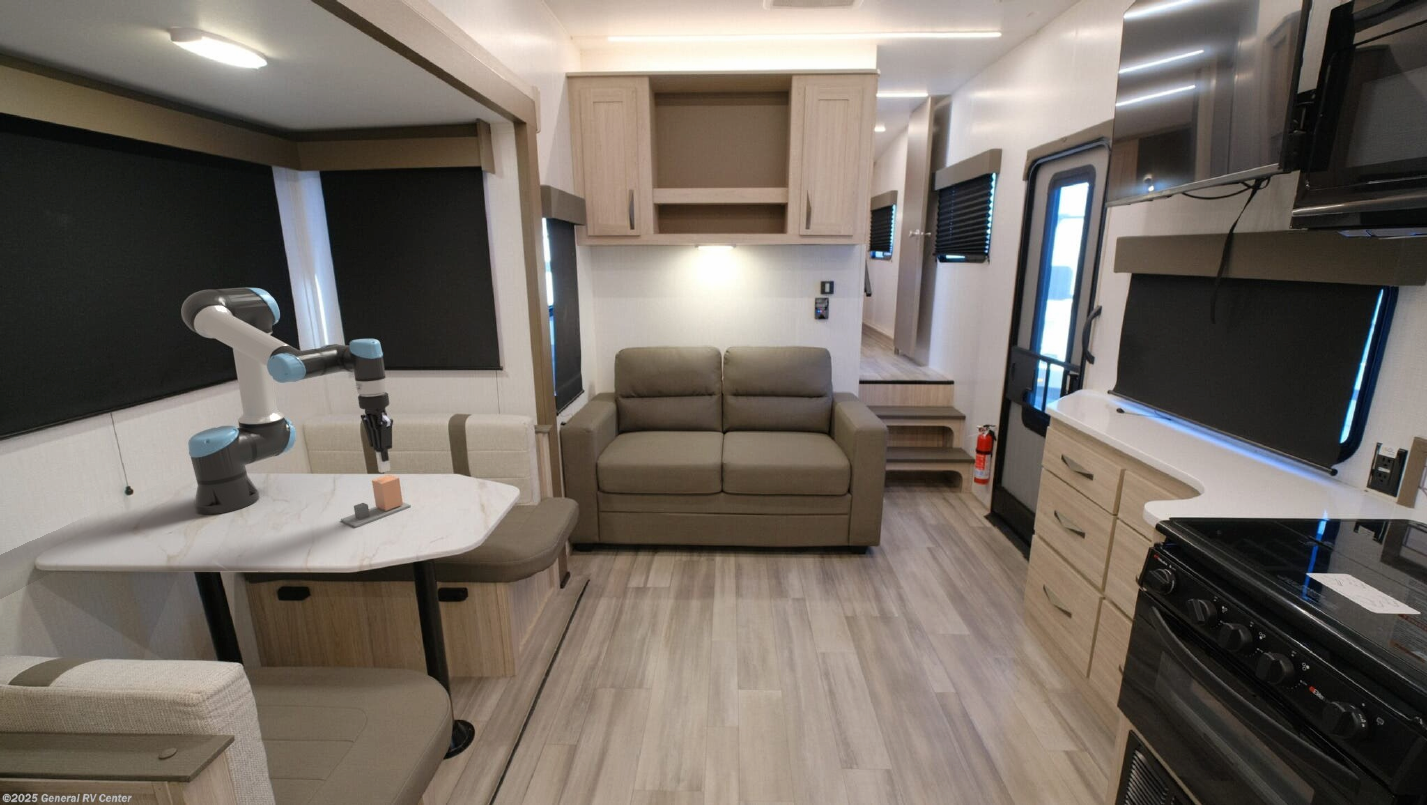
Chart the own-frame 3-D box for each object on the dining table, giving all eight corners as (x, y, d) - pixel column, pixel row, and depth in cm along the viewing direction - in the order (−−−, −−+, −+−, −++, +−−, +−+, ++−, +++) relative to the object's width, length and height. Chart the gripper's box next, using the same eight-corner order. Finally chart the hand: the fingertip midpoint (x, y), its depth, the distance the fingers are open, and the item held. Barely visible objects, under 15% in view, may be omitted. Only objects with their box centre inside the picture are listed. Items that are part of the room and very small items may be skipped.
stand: (341, 520, 164) (336, 491, 161) (395, 501, 177) (391, 474, 174) (356, 527, 159) (351, 498, 157) (410, 506, 173) (406, 479, 170)
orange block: (376, 506, 170) (371, 480, 168) (393, 500, 175) (389, 474, 172) (385, 510, 168) (381, 483, 166) (402, 504, 172) (399, 478, 170)
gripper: (347, 393, 163) (359, 470, 169) (372, 399, 156) (384, 479, 162) (373, 388, 169) (385, 462, 175) (398, 393, 162) (409, 471, 168)
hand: (384, 470), depth 168 cm, fingers closed
